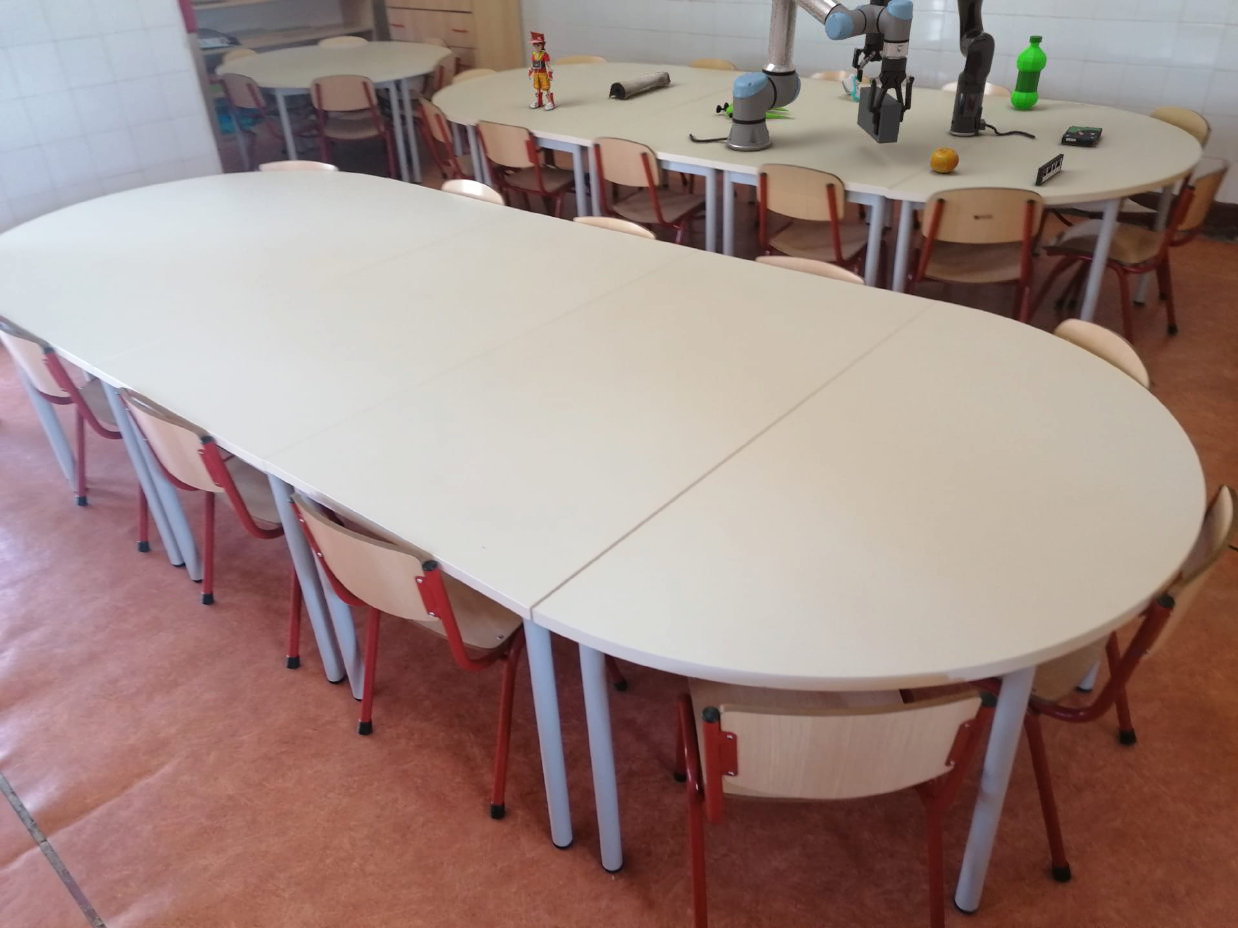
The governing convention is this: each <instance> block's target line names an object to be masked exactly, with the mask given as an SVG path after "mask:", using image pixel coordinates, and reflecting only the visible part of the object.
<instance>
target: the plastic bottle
mask: <svg viewBox="0 0 1238 928" xmlns="http://www.w3.org/2000/svg"><path fill="white" fill-rule="evenodd" d="M1042 42H1043V36H1042V35H1030V37H1029V41H1028V43H1030V44H1029V46H1028V47H1026V49H1024V50H1023V51H1021V52H1020V53H1019V54H1018V56H1017V59H1016V68H1017V70H1018V71H1017V77H1016V82H1015V87H1014V90H1013V91H1012V93H1011V96H1010V103H1011V105H1012V106H1013V107H1014V108H1015V109H1016V110H1020V111H1027V110H1030V109H1031V108H1033V107H1034V106H1035V105H1036V104H1037V102H1038V101H1039V92H1038V87H1039V82H1040V78H1041V72H1042V70H1043V69H1045V67H1046V66H1047V61H1048V59H1047V54H1046V52H1044V50H1043V48H1041V47H1040V44H1041V43H1042Z"/></svg>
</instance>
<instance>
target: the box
mask: <svg viewBox="0 0 1238 928" xmlns="http://www.w3.org/2000/svg"><path fill="white" fill-rule="evenodd" d="M870 88H871V86H869V87H866V86H860V88H859V89H860V99H859V101H858V109H857V110H858V111H857V120H856V125H858V126H859V127H860V128H861V129H862V130H863V131H864V132H866V134H868V136H870V137H871V138H872V139H873V140H874V141H875V142H876V143H877V144H879V145H880V144H895V143H896V144H897V143H898V138H899V134H898V131H899V132H900V127H899V123H900V124H901V122H900V115H901V107H902V103H900V102H899V101H897V98H895V97H893V96H892V95H891V94H889V93H888V91H887V92H886V94H885V97H884V99H883V102H882V104H881V107H880V109H879V112H878V113H880V122H879V131H878V135H875V134H874V133H873V131H874V124H873V123H872V114H873V113H872V112H869V111H868V110H867V106H868V100H869V94H870ZM880 88H881V86H879V85H877V89H876V95H875V101H874V105H875V102H876V100H877V97H878V95H879V92H880Z"/></svg>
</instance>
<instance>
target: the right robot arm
mask: <svg viewBox="0 0 1238 928" xmlns="http://www.w3.org/2000/svg"><path fill="white" fill-rule="evenodd" d="M890 1H892V0H869V4H870V5H875V6H884V7H888V3H889V2H890ZM983 2H984V0H956V3H957V10H958V19H959V51H960V53H961V55H962V56H963V57H964V58H965V63H964V68H963V70H962V71H961V72H960V73H959V74H958V78H957V83H956V91H955V96H954V104H953V110H952V115H951V120H950V122H951V123H950V129H949V134H950V135H952V136H956V137H973V136H979V131H986V128H989V129H991V130H993V132H994V134H995V135H997V136H1000V137H1003V136H1010V135H1014V134H1015V135H1022V136H1026V137H1028V138H1031V139H1036V135H1034V134H1032V133H1029V132H1027V131H1026V132H1025V131H1021V130H1011V131H1006V132H999V131H998V130H997V128H996V127H995V126H994V125H992V124H988V123H987V122H986V120H985V118H982V115H983V109H984V107H983V102H984V96H985V90H986V83H987V79H988V77H989V75H990V73H991V69H992V65H993V59H994V55H995V49H996V41H995V38H994V36H993V35H992V34H990V33H988V32H987V31H985V29H984V25H983V16H982V10H983V9H982V8H983V4H984V3H983ZM884 36H885V34H880V33H867V34H865V38H864V46H863V48H859V47H854V49H853V56H852V61H851V67H852V68H854V69H856V70H857V71H856V76H857V80H856V81H857V82H858V81H859V82H860V83H862V82H863V77H864V76H863V75H864V68H865V67H866V65H868V64H869V62H870V63H874V62H882V58H883V57H884V56H883V46H884ZM862 53H863V57H862V58H861V61H859V60H860V56H861V55H862Z"/></svg>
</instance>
